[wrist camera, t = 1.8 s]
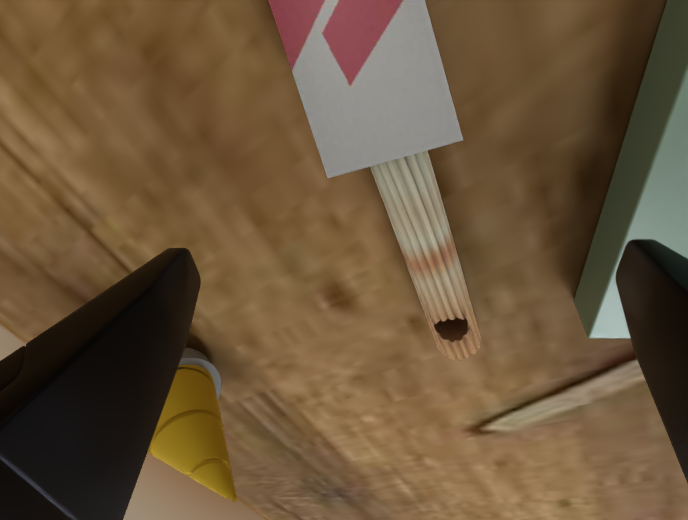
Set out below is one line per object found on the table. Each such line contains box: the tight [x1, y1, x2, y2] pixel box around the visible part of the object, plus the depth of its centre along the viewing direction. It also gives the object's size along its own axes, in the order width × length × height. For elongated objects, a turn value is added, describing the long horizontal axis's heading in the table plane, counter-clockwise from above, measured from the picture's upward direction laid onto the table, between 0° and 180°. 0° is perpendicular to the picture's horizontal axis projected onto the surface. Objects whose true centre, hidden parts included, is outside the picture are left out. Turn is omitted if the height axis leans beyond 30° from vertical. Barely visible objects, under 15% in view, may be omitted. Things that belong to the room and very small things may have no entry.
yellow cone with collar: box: [148, 348, 237, 502], centre depth 21 cm, size 5×5×10 cm
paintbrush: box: [268, 0, 481, 360], centre depth 14 cm, size 4×3×20 cm
